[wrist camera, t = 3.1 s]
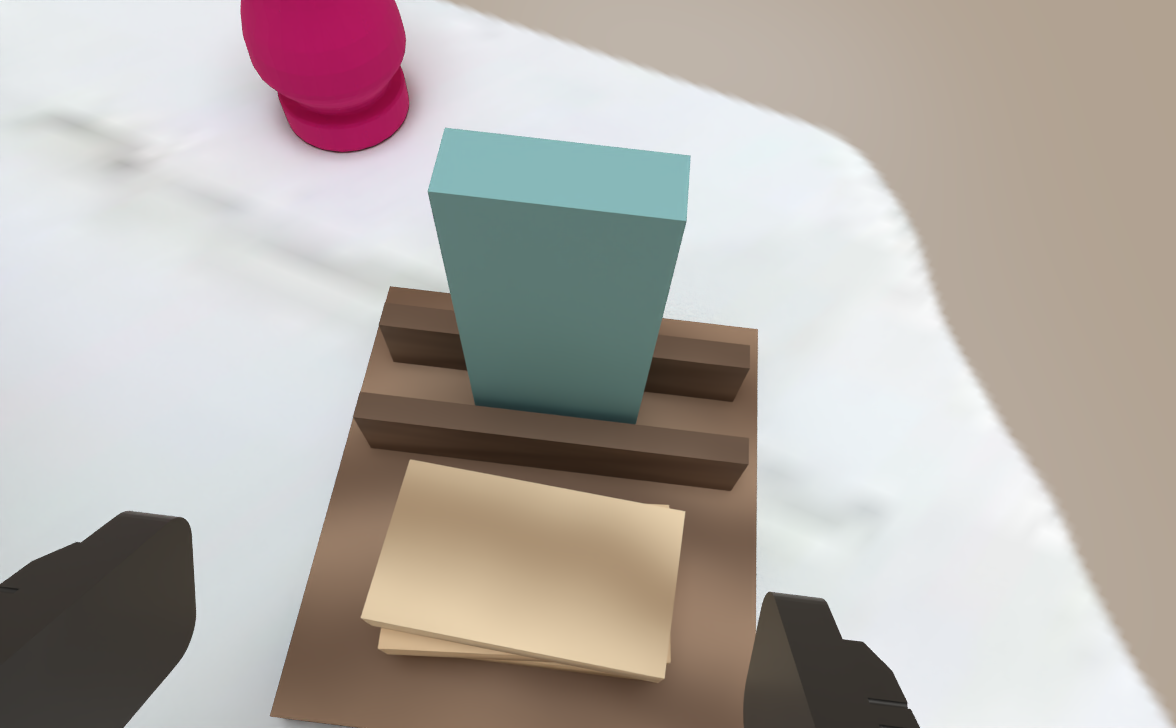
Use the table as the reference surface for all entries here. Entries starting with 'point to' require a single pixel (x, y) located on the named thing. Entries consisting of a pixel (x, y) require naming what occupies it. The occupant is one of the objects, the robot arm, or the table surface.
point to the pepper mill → (331, 67)
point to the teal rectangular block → (558, 267)
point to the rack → (555, 458)
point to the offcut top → (529, 571)
